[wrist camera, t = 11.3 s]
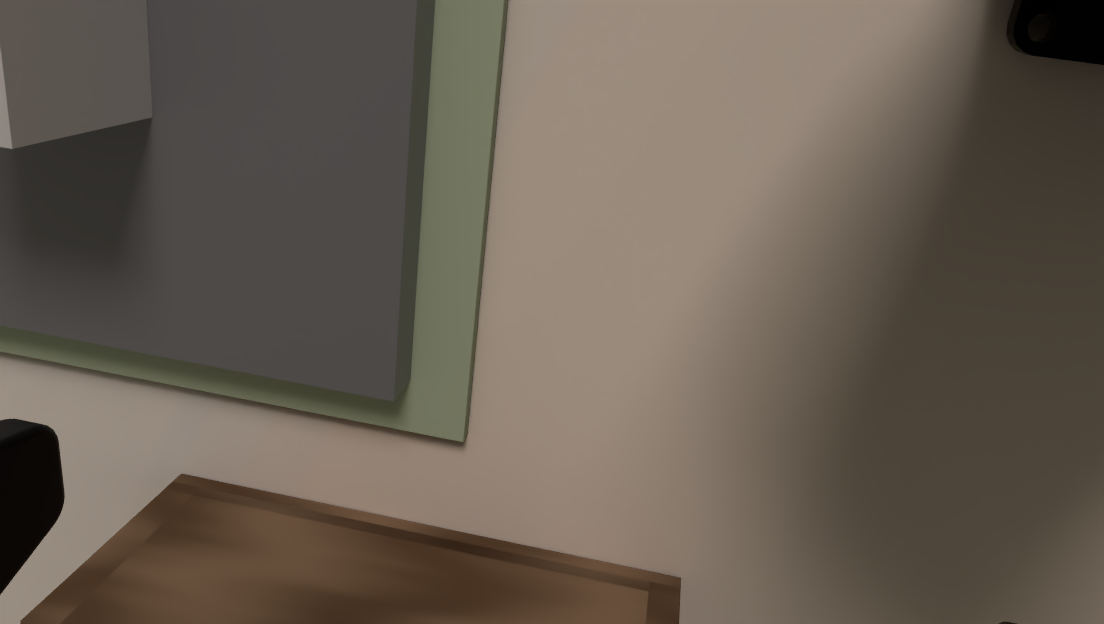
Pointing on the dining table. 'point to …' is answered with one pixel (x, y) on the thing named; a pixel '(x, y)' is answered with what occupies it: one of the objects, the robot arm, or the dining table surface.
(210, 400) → the dining table surface
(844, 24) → the dining table surface
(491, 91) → the mat
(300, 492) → the dining table surface
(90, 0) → the lid
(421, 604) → the storage box
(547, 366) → the dining table surface
